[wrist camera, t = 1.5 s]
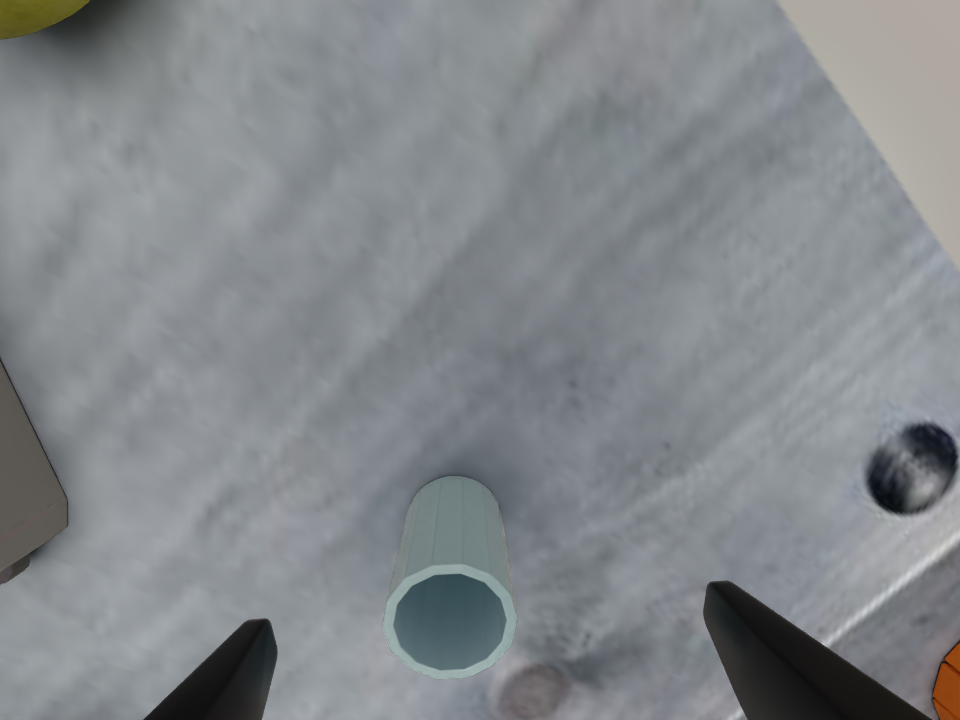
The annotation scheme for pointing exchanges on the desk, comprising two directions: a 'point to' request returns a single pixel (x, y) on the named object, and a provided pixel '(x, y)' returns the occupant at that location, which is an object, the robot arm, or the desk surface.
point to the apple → (34, 15)
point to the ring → (948, 687)
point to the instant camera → (24, 488)
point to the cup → (451, 582)
